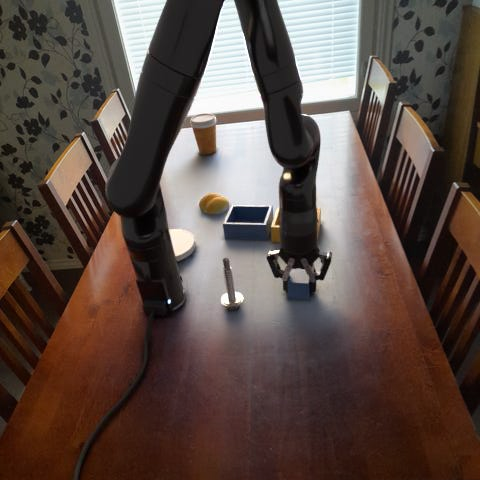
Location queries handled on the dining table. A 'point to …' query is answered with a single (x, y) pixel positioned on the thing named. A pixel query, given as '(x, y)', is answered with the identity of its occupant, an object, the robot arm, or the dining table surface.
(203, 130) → the disposable coffee cup
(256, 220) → the blue bin
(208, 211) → the bread roll
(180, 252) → the plastic lid
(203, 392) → the dining table surface
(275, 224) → the ochre bin
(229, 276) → the screw
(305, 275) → the blue block
